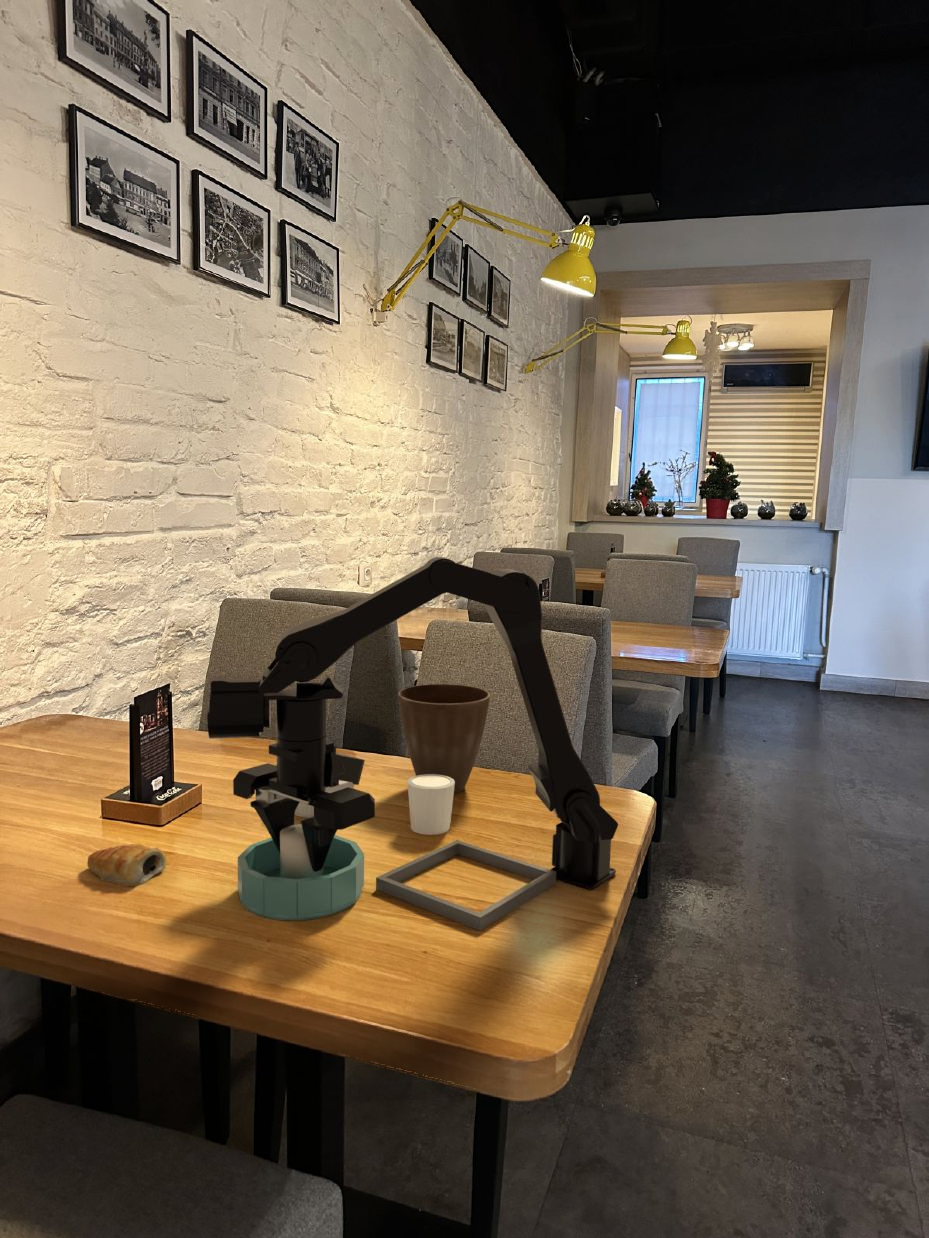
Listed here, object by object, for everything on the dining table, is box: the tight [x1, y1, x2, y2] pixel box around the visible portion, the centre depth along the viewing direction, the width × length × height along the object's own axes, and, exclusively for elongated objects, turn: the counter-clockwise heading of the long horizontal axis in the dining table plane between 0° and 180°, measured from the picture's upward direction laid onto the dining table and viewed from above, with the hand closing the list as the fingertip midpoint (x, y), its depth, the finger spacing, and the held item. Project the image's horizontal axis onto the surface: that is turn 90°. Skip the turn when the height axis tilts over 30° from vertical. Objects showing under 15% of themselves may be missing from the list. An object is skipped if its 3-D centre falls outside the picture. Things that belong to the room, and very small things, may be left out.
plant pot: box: [398, 683, 491, 794], centre depth 138 cm, size 15×15×16 cm
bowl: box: [237, 834, 365, 922], centre depth 100 cm, size 14×14×4 cm
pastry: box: [86, 843, 167, 887], centre depth 104 cm, size 9×7×4 cm
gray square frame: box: [375, 839, 557, 931], centre depth 102 cm, size 16×16×2 cm
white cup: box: [406, 774, 455, 836], centre depth 121 cm, size 7×7×7 cm
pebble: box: [280, 823, 323, 879], centre depth 99 cm, size 5×5×5 cm
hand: (302, 864), depth 99 cm, fingers closed on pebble, 5 cm apart
